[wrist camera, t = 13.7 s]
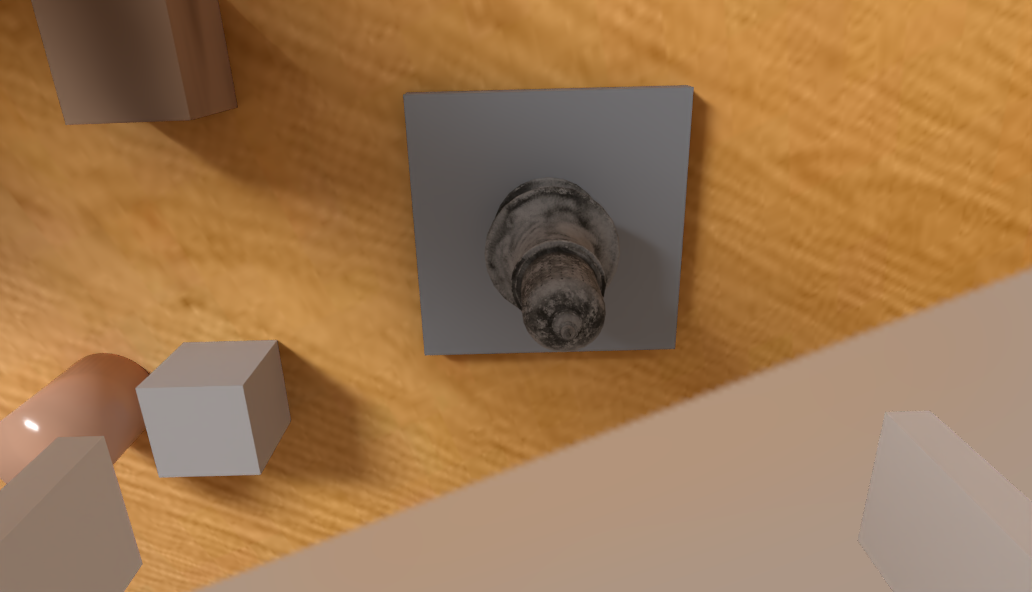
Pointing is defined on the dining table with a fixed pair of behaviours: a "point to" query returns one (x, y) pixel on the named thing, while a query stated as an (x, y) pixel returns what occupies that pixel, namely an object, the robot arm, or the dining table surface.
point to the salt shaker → (554, 260)
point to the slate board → (538, 154)
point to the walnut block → (136, 59)
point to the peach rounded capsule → (76, 411)
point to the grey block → (215, 408)
